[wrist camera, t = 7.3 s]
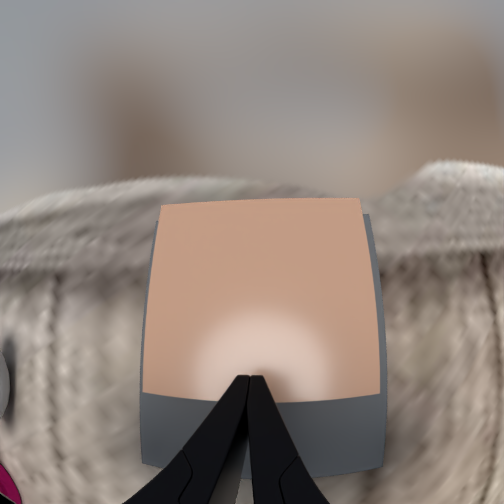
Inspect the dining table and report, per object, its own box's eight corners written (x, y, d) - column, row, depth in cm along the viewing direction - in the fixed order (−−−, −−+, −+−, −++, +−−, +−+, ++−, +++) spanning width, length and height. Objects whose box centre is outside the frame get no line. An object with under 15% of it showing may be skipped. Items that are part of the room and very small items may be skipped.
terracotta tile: (379, 393, 11) (359, 198, 15) (142, 392, 12) (161, 205, 16) (364, 389, 14) (349, 219, 18) (161, 389, 15) (174, 224, 19)
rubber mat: (380, 465, 12) (382, 466, 11) (144, 461, 13) (142, 463, 13) (367, 217, 18) (368, 214, 18) (158, 223, 19) (156, 221, 19)
